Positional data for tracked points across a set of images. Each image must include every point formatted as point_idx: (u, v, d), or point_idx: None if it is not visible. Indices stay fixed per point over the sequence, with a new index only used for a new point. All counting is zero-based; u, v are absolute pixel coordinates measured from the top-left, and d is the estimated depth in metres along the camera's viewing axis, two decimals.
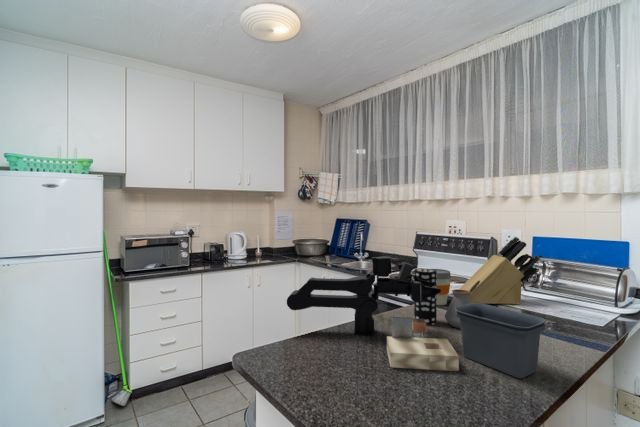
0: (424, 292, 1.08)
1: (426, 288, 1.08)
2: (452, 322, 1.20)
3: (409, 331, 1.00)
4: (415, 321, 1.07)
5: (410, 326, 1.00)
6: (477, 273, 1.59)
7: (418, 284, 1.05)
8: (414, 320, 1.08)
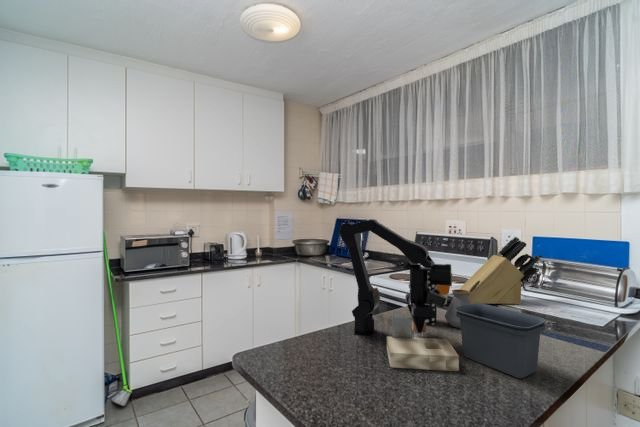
0: (418, 316, 1.05)
1: (423, 319, 1.04)
2: (452, 322, 1.20)
3: (409, 331, 1.00)
4: None
5: (410, 326, 1.00)
6: (477, 273, 1.59)
7: (433, 315, 0.99)
8: None
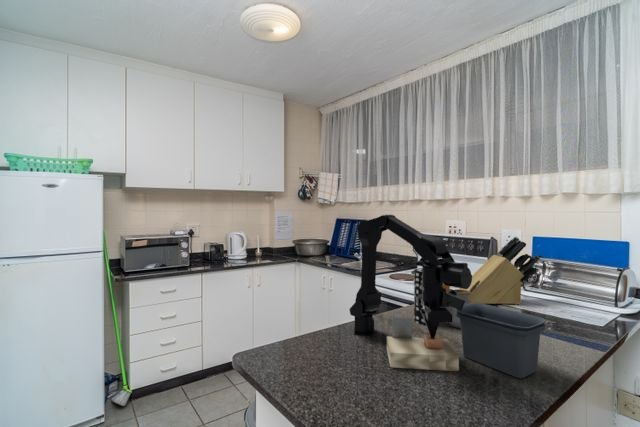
0: None
1: (437, 322, 0.92)
2: (452, 322, 1.20)
3: (409, 331, 1.00)
4: (429, 337, 0.93)
5: (410, 326, 1.00)
6: (477, 273, 1.59)
7: (451, 319, 0.85)
8: (428, 336, 0.94)
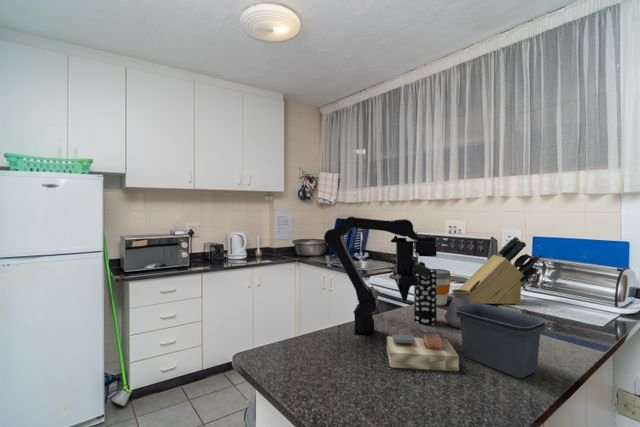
0: (403, 286, 1.11)
1: (408, 288, 1.11)
2: (452, 322, 1.20)
3: None
4: (429, 337, 0.93)
5: None
6: (477, 273, 1.59)
7: (417, 283, 1.03)
8: (428, 336, 0.94)
